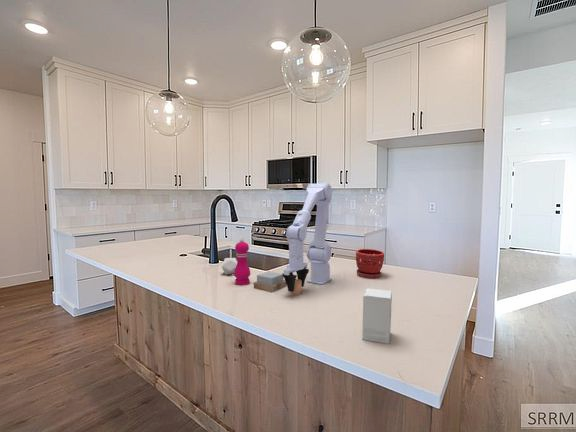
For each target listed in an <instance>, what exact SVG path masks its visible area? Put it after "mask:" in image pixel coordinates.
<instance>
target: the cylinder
mask: <svg viewBox="0 0 576 432" xmlns="http://www.w3.org/2000/svg"><path fill="white" fill-rule="evenodd" d="M302 288H303V287H302V280H299V279H298V278H296V280H295V284H294V291H293V292H290V294H292V295H295V296H296V295H297V296H298V295H302V291H303V290H302Z"/></svg>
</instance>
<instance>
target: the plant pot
mask: <svg viewBox="0 0 576 432" xmlns="http://www.w3.org/2000/svg"><path fill="white" fill-rule="evenodd" d="M355 262H356V263H355V264H356V267H357V269H356V274H357V275H358V276H359V277H363V278H366V279H367V278H369V279H375V278H379V277H380V276H382V271H381V270H382V268H383V265H384V262H385V252H384V251H382V250H378V249H371V248H360V249H357V250H356V252H355Z"/></svg>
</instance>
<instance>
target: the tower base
mask: <svg viewBox="0 0 576 432" xmlns="http://www.w3.org/2000/svg"><path fill="white" fill-rule="evenodd" d="M286 287H287V284H286V281H285V279H283V281H282V282H280V283H277V284H275V285H267V284H263V283H258V282H257V280H256V281H254V282H253V289H255V290H260V291H263V292H264V291H265V292H269V293H272V292H273V293H275V292H277V291H280V290H282V289H284V288H286Z"/></svg>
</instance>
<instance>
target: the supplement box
mask: <svg viewBox="0 0 576 432" xmlns="http://www.w3.org/2000/svg"><path fill="white" fill-rule="evenodd" d="M392 292H393V291H392V290H389V289H388V290H387V289H378V288H366V289H365V290H364V294H363V296H362V300H363V301H362V332H361V333H362V335H361V337H362V340H365V341H370V342H376V343H382V344H390V337H391V328H392V326H391V325H392V301H393V298H392V297H393V296H392V295H393V294H392Z"/></svg>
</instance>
